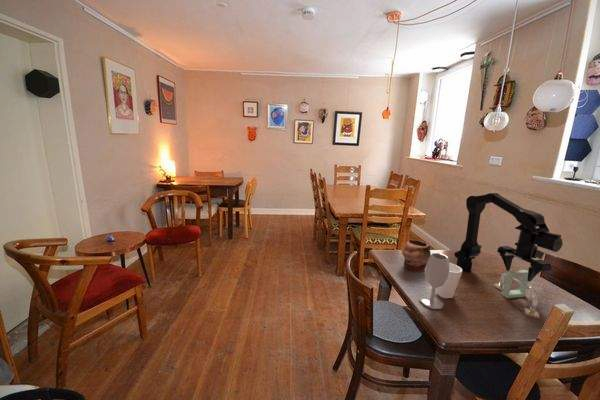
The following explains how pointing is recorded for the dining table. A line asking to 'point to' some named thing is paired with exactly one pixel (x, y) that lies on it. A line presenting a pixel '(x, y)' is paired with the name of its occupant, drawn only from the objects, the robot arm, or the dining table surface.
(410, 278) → the dining table surface
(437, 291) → the foam cup
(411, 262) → the decorative planter
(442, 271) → the wineglass
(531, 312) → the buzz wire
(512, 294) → the mint green frame
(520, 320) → the dining table surface
